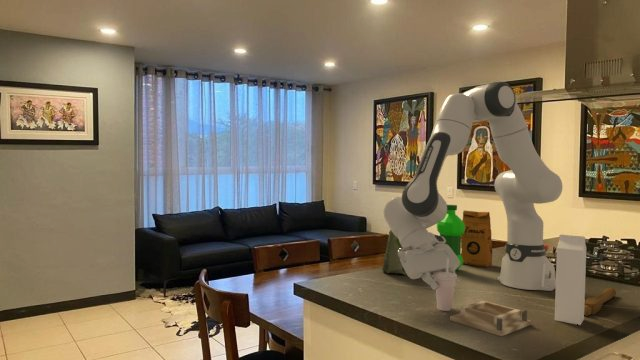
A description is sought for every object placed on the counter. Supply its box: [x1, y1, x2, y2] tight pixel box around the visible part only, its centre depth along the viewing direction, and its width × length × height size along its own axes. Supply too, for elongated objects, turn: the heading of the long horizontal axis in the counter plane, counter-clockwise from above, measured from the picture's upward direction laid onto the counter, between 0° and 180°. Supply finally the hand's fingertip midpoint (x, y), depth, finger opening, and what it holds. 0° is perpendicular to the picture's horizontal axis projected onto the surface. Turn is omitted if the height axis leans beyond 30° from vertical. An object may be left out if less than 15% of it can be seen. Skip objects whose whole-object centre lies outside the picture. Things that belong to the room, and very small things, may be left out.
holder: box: [449, 300, 532, 337], centre depth 118 cm, size 14×14×4 cm
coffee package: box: [461, 210, 493, 268], centre depth 191 cm, size 10×12×22 cm
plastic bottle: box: [436, 204, 465, 272], centre depth 180 cm, size 10×10×25 cm
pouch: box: [381, 228, 408, 276], centre depth 173 cm, size 11×12×25 cm
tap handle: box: [584, 287, 617, 317], centre depth 136 cm, size 3×3×30 cm
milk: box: [554, 234, 587, 326], centre depth 121 cm, size 6×6×22 cm
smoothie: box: [432, 258, 458, 312], centre depth 129 cm, size 6×6×14 cm
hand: (446, 286), depth 128 cm, fingers open, 7 cm apart
